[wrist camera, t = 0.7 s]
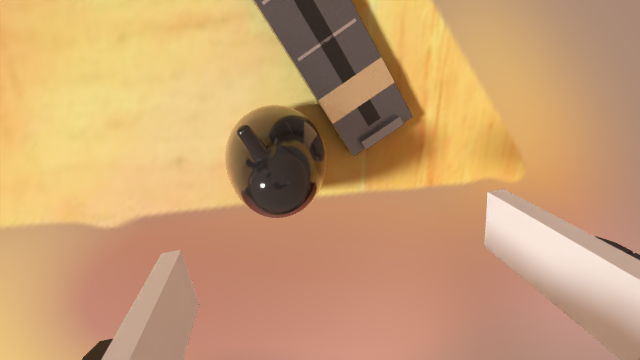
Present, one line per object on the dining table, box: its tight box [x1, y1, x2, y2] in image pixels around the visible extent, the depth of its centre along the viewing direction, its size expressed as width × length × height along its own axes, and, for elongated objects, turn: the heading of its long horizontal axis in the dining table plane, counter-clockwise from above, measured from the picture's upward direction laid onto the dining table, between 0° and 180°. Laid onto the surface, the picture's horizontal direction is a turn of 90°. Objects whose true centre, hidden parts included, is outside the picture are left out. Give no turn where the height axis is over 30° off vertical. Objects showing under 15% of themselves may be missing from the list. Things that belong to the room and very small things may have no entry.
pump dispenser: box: [226, 105, 326, 218], centre depth 30 cm, size 10×10×15 cm
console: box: [253, 0, 412, 156], centre depth 32 cm, size 28×8×3 cm, turn 33°
